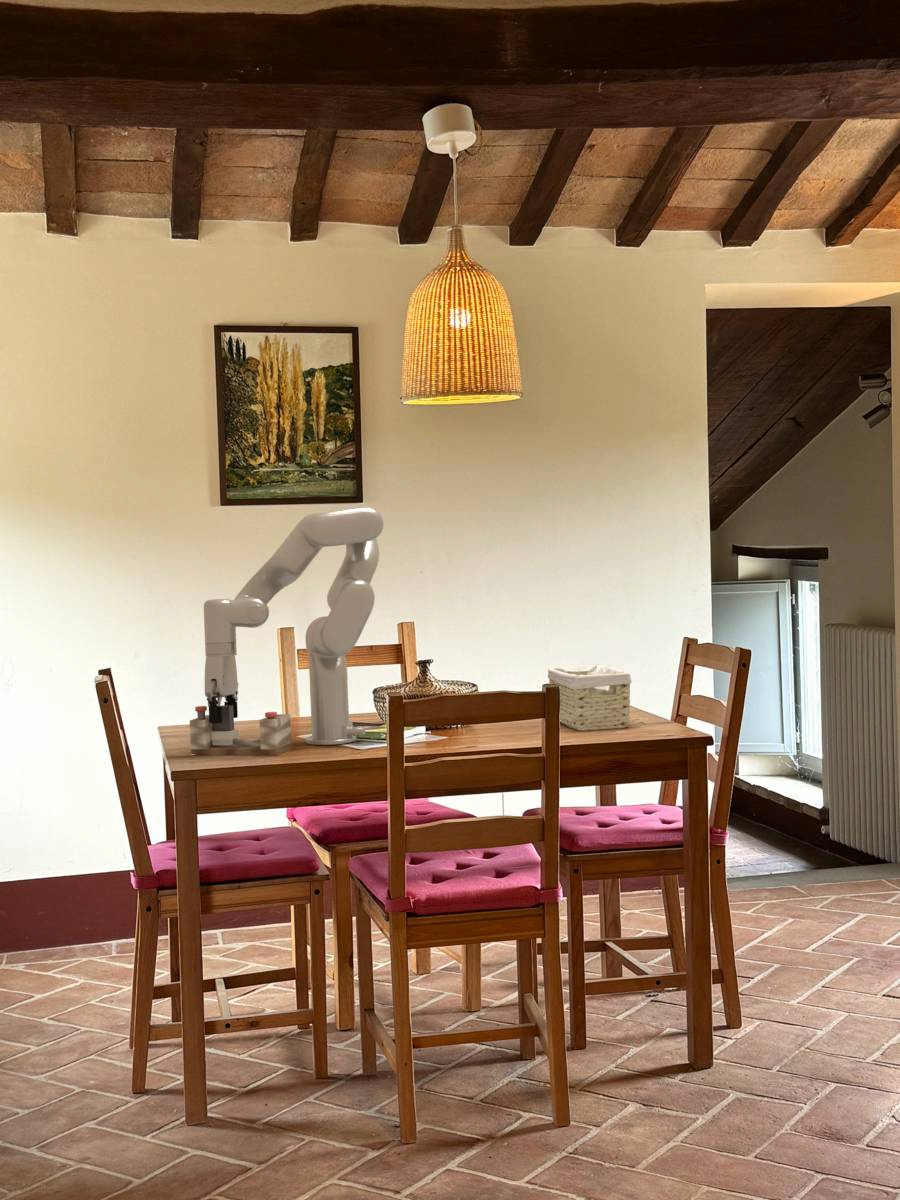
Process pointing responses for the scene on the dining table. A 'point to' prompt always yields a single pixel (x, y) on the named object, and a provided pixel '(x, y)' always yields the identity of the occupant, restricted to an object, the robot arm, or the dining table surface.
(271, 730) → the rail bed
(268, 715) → the red knob cap
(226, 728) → the carriage
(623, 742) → the dining table surface
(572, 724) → the storage basket
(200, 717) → the red rounded knob
